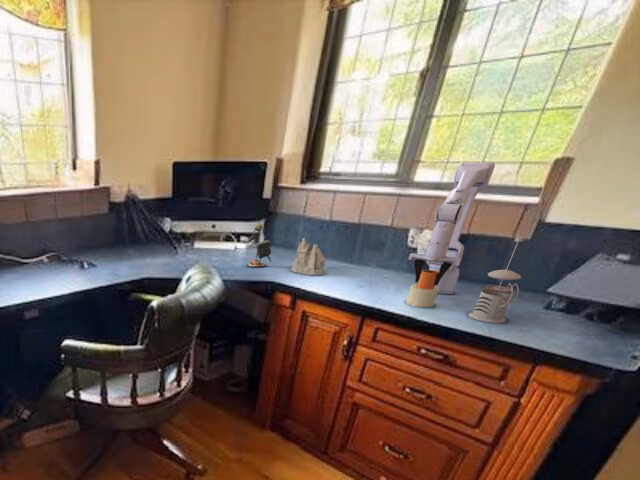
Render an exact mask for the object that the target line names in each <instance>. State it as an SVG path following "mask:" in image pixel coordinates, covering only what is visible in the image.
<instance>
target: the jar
mask: <svg viewBox="0 0 640 480" xmlns="http://www.w3.org/2000/svg"><path fill="white" fill-rule="evenodd" d="M416 286H417V283H415V284H412V285H411V286H410V288H409V292H408V295H407V298H406V302H405V303H406V304H407V305H409V306H412V307H416V308H432V307H434V304H435V302H436V300H437V296H438V294H439V293H438V291H439V288H438V287H434V289H421V288H418V287H416Z"/></svg>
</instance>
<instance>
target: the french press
mask: <svg viewBox="0 0 640 480" xmlns="http://www.w3.org/2000/svg"><path fill="white" fill-rule="evenodd" d="M513 241H514V242H516V244H515V246H514V250H513V252H512V254H511V257H510V258H509V261H508V264H507V266H506V268H505V269H496V270H492V271H490V272H487V276H488V277H490V278H493V279H497V280H500V283H499V284H498V285H497V284H486V285H484V289H482V290H481V291H480V294H479V296H478V297H479V298H478V299H477V303H476V306H474V310H473V311H472V312H469V313H468V314H467V315H468V317H469V318H471V319H473V320H477V321H480V322H484V323H485V322H486V323H493V324H494V323H495V324H500V323H501V324H502V323H506V321H507V320H506V318H505V314H506V312H507V309H508V307H511V306H512V305H514V303H515V302H517V299H518V296H519V294H520V293H519V292H520V291H519V290H520V289H519V285H518V284H517V283H515V282H514V284H513V285H512V284H511V283H510V282H509V283H508V284H507V286H504V285H502V283H503V281H505V280H506V281H517V280H520V279H521V278H522V276H521V275H520V274H519V273H517V272H515V271H513V270H510V269H508V268H509V266H510V263H511V262H512V260H513V257H514V254H515V252H516V249H517V246H518V244H519V243H523V242H524V238H523V237H521V236H519V237H516V238H515V239H514V240H513ZM515 286H516V289H517V291H516V292H517V293H516V297H515V299H514V300H513V302H511V300H512V298H513V295H514V287H515ZM510 302H511V304H510Z"/></svg>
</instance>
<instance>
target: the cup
mask: <svg viewBox="0 0 640 480" xmlns="http://www.w3.org/2000/svg"><path fill="white" fill-rule="evenodd" d="M438 274H439V272H438V271H434V270H429V269H422V270H421V273H420V276H419V279H418V282H417V283H416V284H417V286H416V287H418V288H421V289H434V287H435V282H436V279H437V277H438Z"/></svg>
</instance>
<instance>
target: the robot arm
mask: <svg viewBox="0 0 640 480" xmlns="http://www.w3.org/2000/svg"><path fill="white" fill-rule="evenodd" d="M495 167H496V163H495V162H494V161H491V162H490V161H489V162H487V161H486V162H465V161H461V162H460V163H459V164H458V166H457V167H456V170H455V173H454V177H453V186H454V188H453V189H452V190H450V192H449V193H448V195H447V197H446V198H445V200H444V201H443V203H442V204H439V206H438V207H437V209H436V211H435V215H434V222H433V225H432V228H433V229H432V232H431V235H430V239H429V242H428V245H427V248H426V251H425V253H414V252H411V253H410V254H409V256H408V259H407V260H409V261H414V262H413V267H414V271H415V280H414V283H415V284H417V282H418V279H419V276H420V273H421V270H424V269H423V268H424V266H425V264H427V265H428V270H434V271H438V272H439V274H438V277H437V279H436V282H435V287H438V288H439V291H438V293H437V294H443V295H444V294H445V295H446V294H447V295H453V294H454V290H455V288H456V285H457V283H458V280H459V277H460V269H459V268H458V267H459V266H460V264H461V262H462V259H463V255H464V252H465V245H463V244H462V242H460V241H459V240H460V237H461V235H462V231H463V229H464V227H465V224H466V221H467V218H468V216H469V213H470V211H471V208H472V206H473V203H474V200H475V198H476V197H477V195H478V194H479V193H480V192H483V191H485V190H486V189H487V187H488V185H489V183H490V180H491V178H492V176H493V173H494V170H495Z"/></svg>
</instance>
